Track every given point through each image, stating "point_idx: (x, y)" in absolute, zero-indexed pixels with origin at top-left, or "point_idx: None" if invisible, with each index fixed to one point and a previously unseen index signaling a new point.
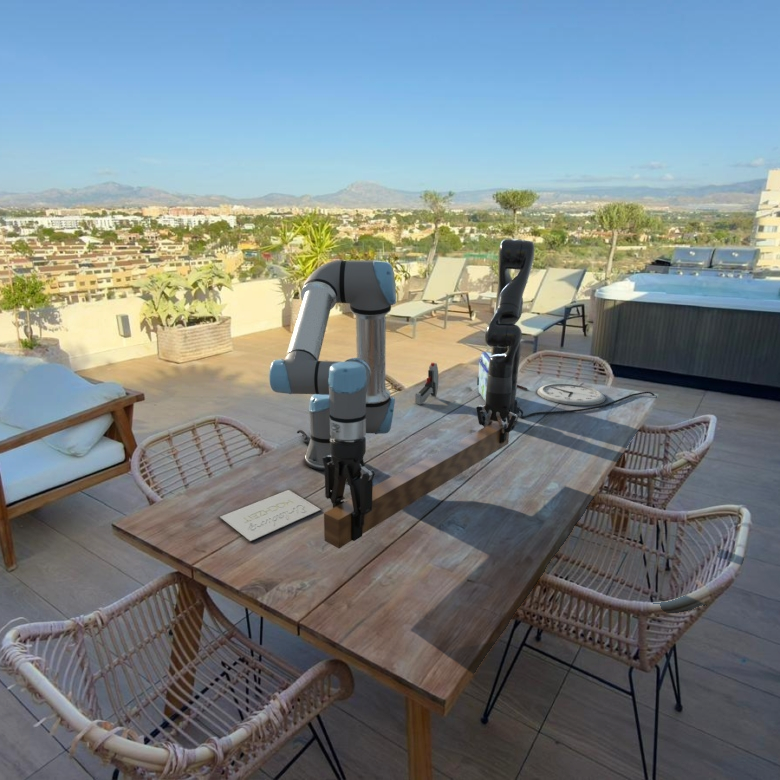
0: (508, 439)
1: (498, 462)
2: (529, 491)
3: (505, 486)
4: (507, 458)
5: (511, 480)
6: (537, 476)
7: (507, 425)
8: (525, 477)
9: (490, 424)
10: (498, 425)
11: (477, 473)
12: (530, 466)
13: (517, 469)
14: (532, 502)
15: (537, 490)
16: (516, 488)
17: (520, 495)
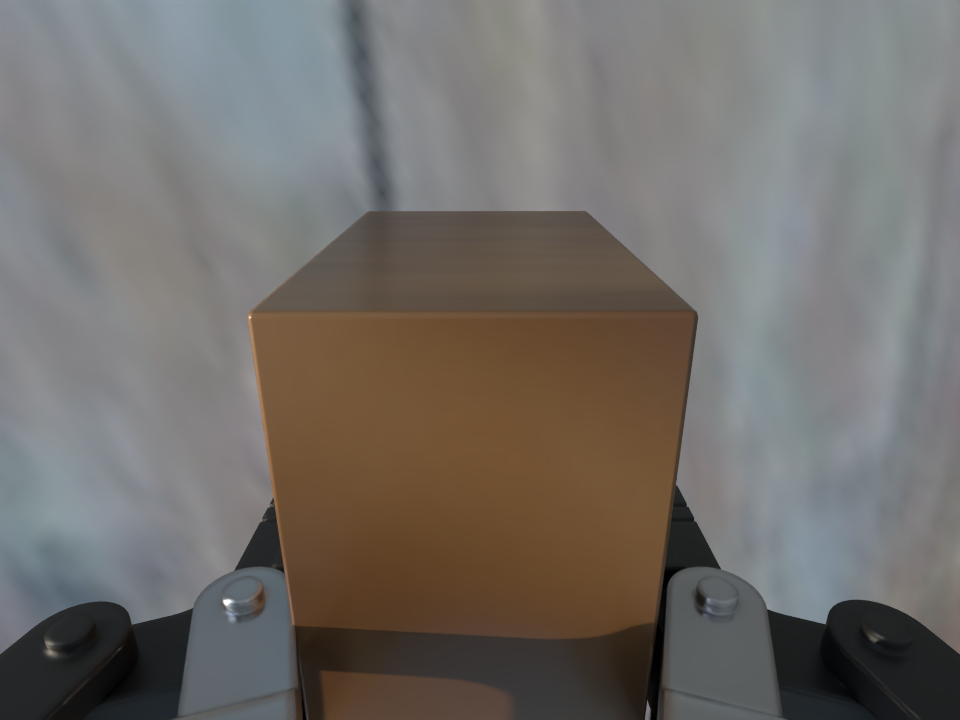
0: (600, 226)
1: (463, 188)
2: (898, 502)
3: (714, 543)
4: (487, 13)
5: (719, 437)
6: (905, 218)
7: (675, 450)
8: (807, 312)
9: (316, 685)
10: (499, 626)
11: None
12: (783, 35)
13: (688, 207)
14: (950, 612)
15: (953, 452)
16: (797, 521)
17: (852, 585)
